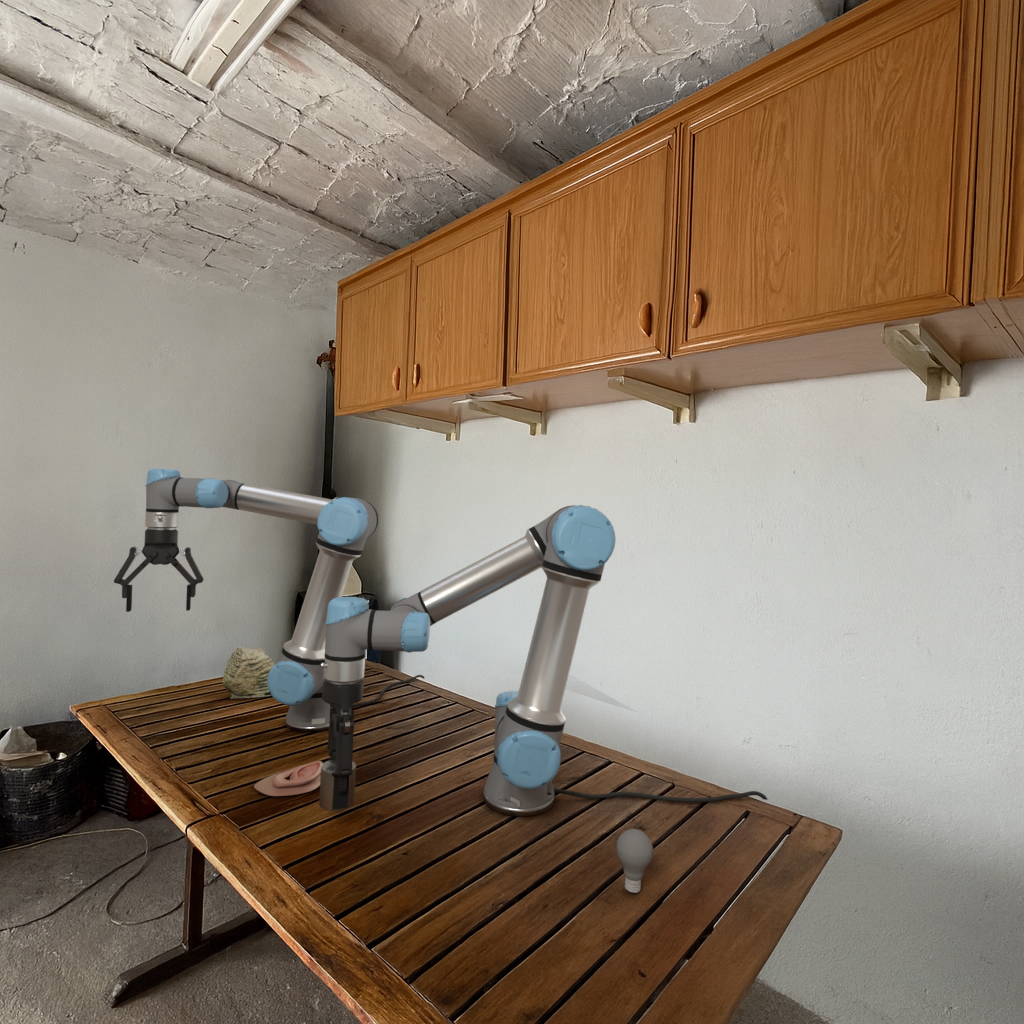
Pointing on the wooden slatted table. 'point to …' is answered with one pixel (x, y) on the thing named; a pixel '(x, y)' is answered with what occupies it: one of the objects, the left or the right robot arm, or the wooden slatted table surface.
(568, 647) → the right robot arm
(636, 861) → the light bulb
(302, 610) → the left robot arm
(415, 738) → the wooden slatted table surface
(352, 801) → the can
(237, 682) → the fossil
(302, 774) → the anatomical model
